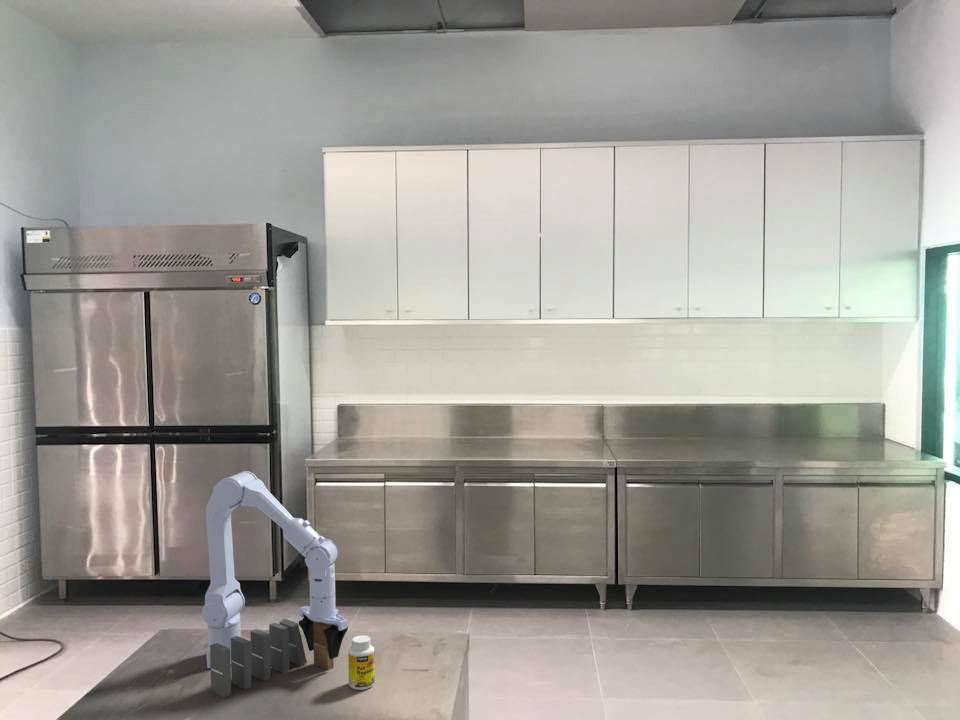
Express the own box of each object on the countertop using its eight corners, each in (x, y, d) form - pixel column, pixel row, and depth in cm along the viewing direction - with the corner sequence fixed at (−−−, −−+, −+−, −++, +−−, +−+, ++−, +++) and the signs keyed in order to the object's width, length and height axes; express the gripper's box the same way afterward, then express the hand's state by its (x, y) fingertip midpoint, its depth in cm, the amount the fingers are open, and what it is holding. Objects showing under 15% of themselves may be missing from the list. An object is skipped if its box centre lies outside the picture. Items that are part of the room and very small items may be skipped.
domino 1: (218, 688, 169) (217, 642, 168) (231, 695, 166) (230, 648, 165) (210, 691, 167) (209, 645, 167) (224, 698, 164) (222, 651, 164)
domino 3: (257, 672, 176) (256, 628, 176) (271, 678, 173) (270, 634, 173) (250, 675, 175) (249, 631, 175) (264, 681, 172) (263, 636, 172)
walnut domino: (319, 661, 182) (319, 619, 182) (333, 667, 179) (333, 624, 178) (313, 664, 180) (312, 621, 180) (327, 670, 177) (326, 626, 177)
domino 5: (293, 656, 184) (285, 618, 182) (307, 661, 181) (298, 623, 179) (287, 660, 183) (278, 622, 181) (300, 666, 180) (292, 627, 178)
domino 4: (276, 665, 180) (275, 622, 180) (289, 670, 177) (288, 627, 177) (269, 667, 179) (268, 624, 179) (283, 673, 176) (282, 629, 175)
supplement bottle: (355, 693, 166) (354, 645, 165) (344, 683, 170) (343, 637, 170) (379, 686, 169) (378, 640, 168) (367, 677, 173) (367, 631, 173)
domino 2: (238, 680, 173) (237, 635, 172) (251, 686, 169) (251, 641, 169) (231, 683, 171) (230, 638, 171) (244, 689, 168) (243, 643, 168)
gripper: (357, 596, 178) (358, 655, 178) (316, 584, 187) (316, 640, 187) (333, 605, 172) (334, 666, 173) (291, 591, 181) (292, 649, 182)
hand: (323, 653), depth 180 cm, fingers open, 7 cm apart
